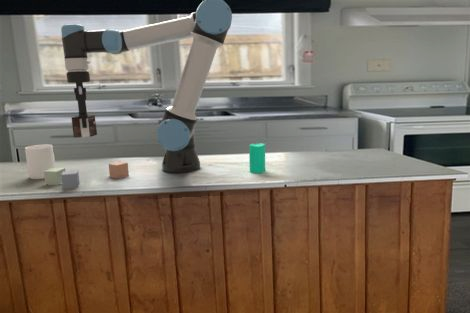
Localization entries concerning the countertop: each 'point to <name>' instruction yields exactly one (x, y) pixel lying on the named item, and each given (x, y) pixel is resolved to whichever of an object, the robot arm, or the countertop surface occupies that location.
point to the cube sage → (53, 176)
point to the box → (78, 129)
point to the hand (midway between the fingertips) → (85, 135)
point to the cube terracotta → (118, 169)
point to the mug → (39, 160)
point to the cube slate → (70, 179)
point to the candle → (257, 158)
